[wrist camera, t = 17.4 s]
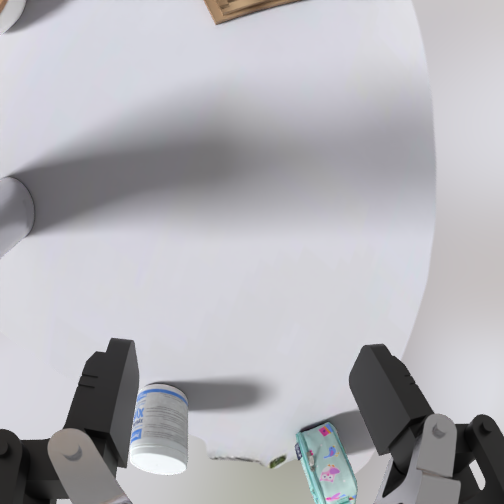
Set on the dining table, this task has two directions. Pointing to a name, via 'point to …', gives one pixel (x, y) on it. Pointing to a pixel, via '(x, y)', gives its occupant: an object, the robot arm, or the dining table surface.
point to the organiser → (238, 7)
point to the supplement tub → (160, 430)
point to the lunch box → (326, 465)
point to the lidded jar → (10, 13)
